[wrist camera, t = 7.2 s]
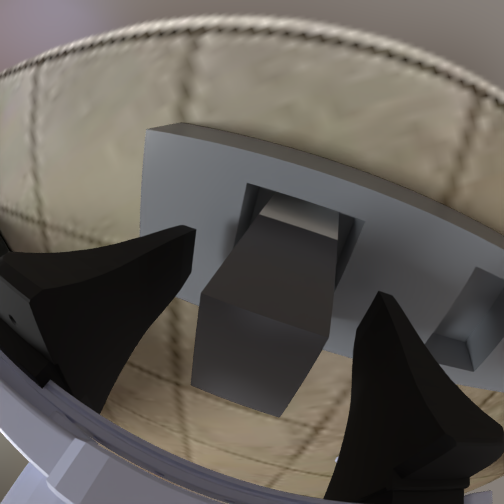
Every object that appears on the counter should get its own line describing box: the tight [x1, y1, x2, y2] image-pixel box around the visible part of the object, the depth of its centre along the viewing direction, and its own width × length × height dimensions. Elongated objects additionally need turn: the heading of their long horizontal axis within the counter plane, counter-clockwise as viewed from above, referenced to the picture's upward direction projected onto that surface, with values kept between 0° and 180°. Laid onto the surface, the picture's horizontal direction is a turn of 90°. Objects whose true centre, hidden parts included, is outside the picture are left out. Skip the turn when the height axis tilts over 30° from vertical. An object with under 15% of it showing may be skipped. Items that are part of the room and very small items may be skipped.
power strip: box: [140, 123, 504, 392], centre depth 12 cm, size 24×8×4 cm, turn 78°
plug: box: [191, 192, 339, 417], centre depth 11 cm, size 3×4×8 cm
